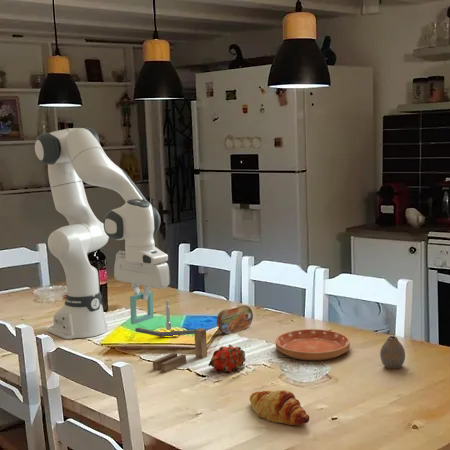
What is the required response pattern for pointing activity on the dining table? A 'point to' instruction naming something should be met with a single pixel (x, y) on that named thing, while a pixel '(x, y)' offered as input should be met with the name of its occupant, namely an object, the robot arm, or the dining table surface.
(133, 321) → the square ring
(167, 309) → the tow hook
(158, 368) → the slot block
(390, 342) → the vase
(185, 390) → the dining table surface
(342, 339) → the saucer
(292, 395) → the croissant
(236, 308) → the tin
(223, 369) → the dragon fruit
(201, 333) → the curved rod stand
